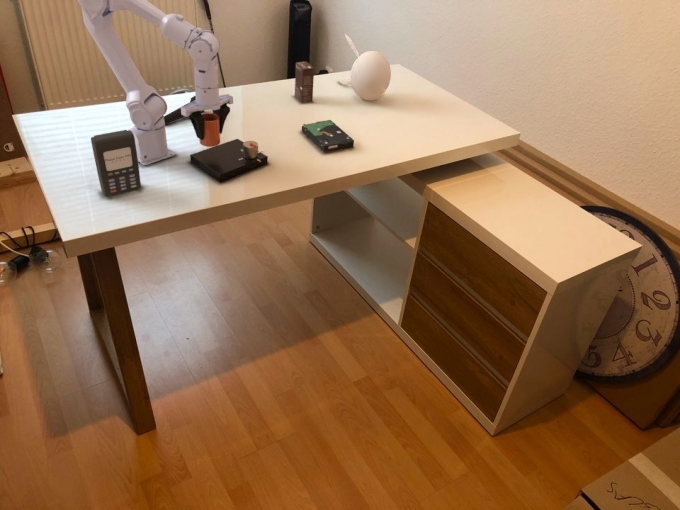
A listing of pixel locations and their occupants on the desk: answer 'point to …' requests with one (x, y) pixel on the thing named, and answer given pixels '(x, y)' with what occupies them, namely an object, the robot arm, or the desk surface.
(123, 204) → the desk surface
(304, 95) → the box
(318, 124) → the disk drive
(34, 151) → the desk surface
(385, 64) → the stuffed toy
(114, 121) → the desk surface
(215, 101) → the robot arm
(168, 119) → the microphone
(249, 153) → the dial
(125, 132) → the card reader
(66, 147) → the desk surface
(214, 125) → the cup
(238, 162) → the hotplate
